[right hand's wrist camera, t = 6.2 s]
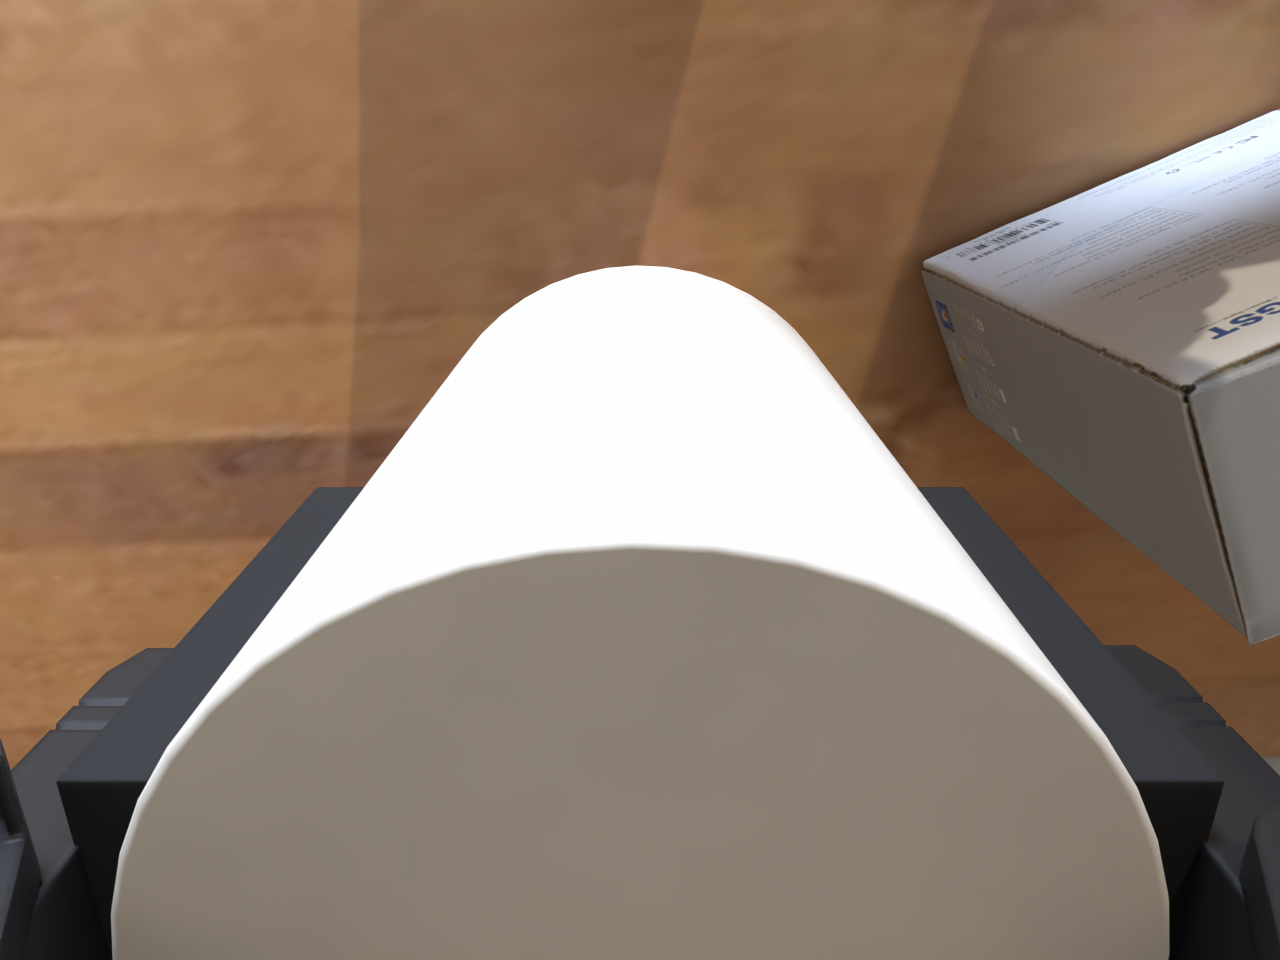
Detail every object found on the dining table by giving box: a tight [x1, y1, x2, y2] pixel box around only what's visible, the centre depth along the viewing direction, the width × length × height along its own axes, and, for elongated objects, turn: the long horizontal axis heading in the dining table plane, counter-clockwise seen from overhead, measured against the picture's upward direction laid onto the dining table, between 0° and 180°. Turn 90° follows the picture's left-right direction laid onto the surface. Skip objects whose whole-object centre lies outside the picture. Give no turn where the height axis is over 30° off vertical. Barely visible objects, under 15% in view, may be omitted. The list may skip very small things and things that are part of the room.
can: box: [111, 266, 1169, 960], centre depth 12 cm, size 8×8×12 cm
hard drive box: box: [921, 109, 1280, 645], centre depth 30 cm, size 16×8×20 cm, turn 114°
